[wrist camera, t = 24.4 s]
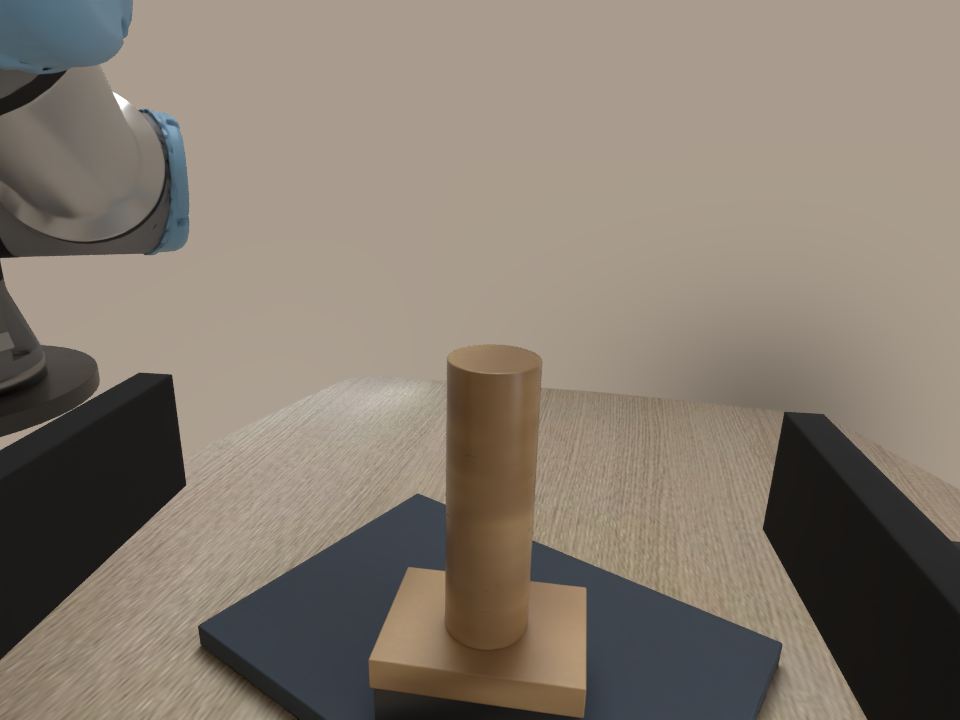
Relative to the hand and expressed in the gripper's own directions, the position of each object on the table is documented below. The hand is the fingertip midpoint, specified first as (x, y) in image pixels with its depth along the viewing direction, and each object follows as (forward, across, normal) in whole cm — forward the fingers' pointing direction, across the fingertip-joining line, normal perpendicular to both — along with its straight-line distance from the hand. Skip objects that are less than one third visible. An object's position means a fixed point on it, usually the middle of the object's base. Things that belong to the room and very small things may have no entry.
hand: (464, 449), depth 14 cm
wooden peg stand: (+7, 0, -13) cm, 15 cm away
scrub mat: (+10, 0, -14) cm, 17 cm away
